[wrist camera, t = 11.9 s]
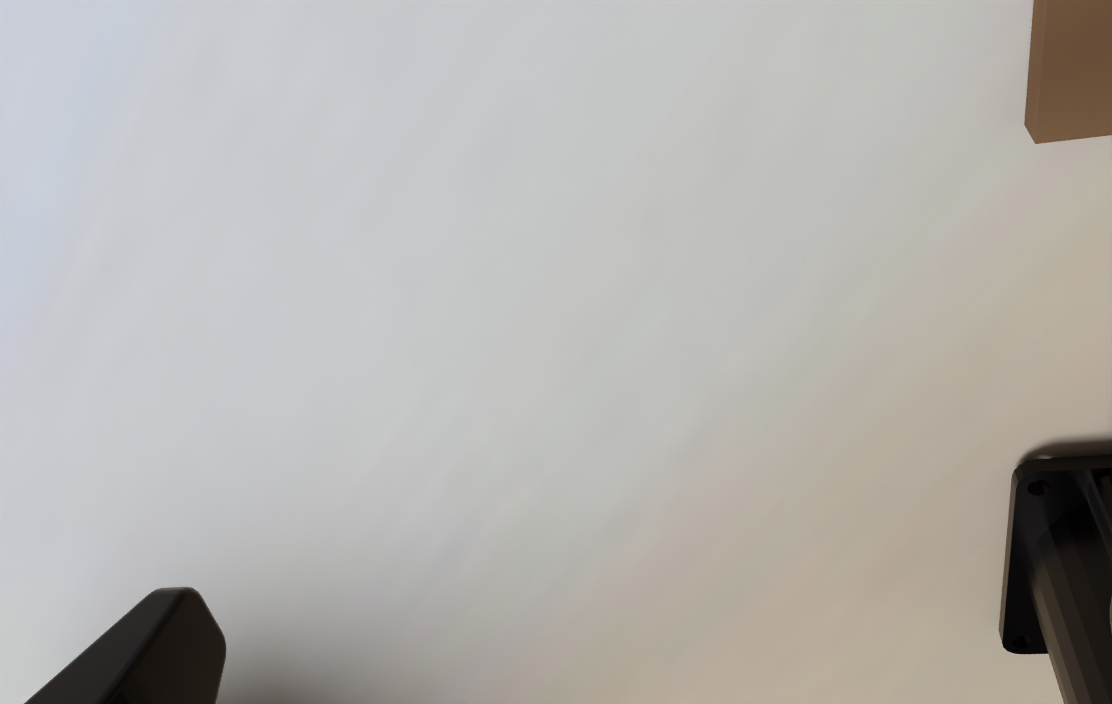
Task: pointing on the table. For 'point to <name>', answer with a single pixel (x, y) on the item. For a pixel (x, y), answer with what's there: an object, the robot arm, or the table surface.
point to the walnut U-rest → (1070, 70)
